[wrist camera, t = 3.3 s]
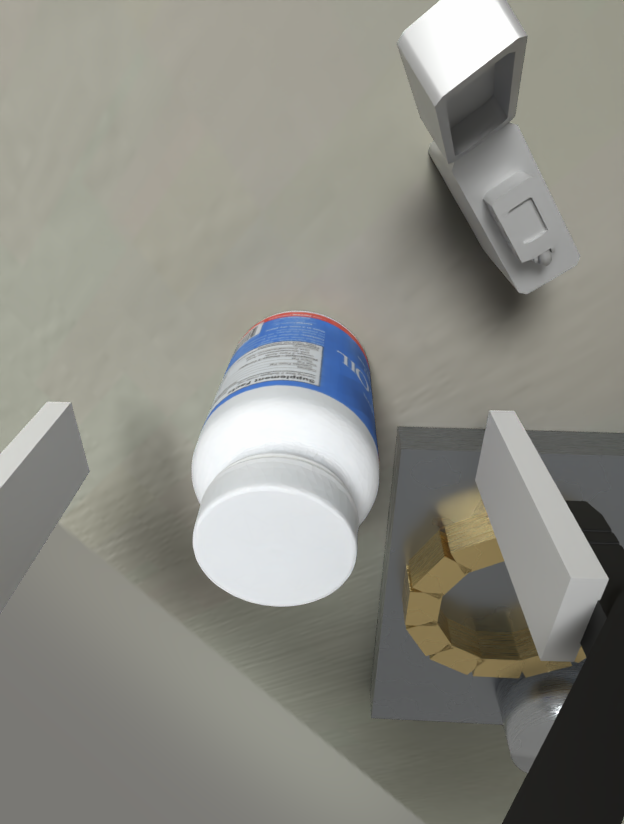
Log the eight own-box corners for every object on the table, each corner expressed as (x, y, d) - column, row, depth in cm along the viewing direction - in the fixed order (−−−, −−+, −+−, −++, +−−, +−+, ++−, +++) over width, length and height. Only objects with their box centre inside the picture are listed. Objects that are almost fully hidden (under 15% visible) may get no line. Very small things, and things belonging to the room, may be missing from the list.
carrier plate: (397, 426, 22) (412, 516, 18) (745, 436, 22) (853, 532, 17) (370, 691, 32) (374, 792, 28) (607, 702, 32) (652, 807, 27)
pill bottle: (377, 419, 22) (399, 622, 14) (251, 435, 23) (199, 637, 15) (359, 292, 19) (373, 451, 11) (216, 315, 20) (128, 481, 12)
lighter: (533, 224, 18) (651, 313, 11) (486, 255, 18) (569, 356, 12) (426, 11, 15) (495, -47, 8) (373, 55, 16) (397, 36, 9)
